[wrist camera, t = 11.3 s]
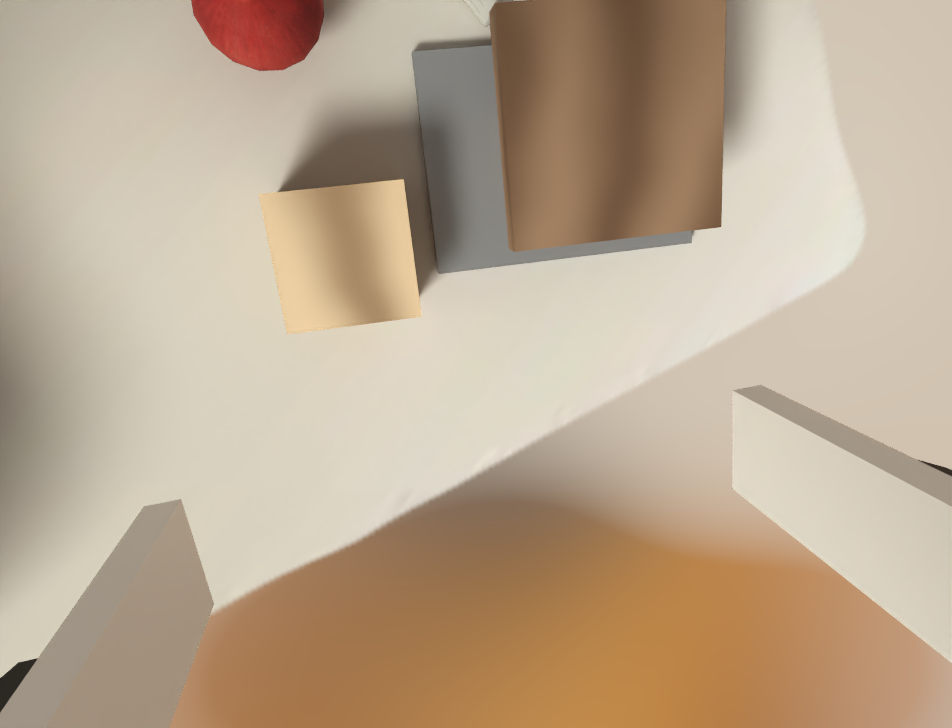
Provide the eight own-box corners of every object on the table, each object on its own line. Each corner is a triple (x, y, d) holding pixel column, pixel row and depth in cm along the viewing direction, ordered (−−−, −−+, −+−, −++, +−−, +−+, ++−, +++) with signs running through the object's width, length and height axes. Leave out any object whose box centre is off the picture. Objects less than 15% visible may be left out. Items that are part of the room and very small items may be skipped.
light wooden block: (300, 314, 35) (287, 334, 30) (276, 193, 33) (258, 194, 28) (416, 300, 36) (421, 316, 31) (400, 180, 34) (403, 178, 29)
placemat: (438, 272, 36) (438, 273, 35) (411, 53, 32) (412, 51, 32) (686, 242, 38) (691, 242, 37) (688, 31, 34) (693, 28, 33)
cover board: (508, 249, 31) (514, 251, 29) (489, 12, 28) (494, 2, 26) (706, 225, 32) (721, 226, 31) (709, -4, 29) (726, -14, 27)
